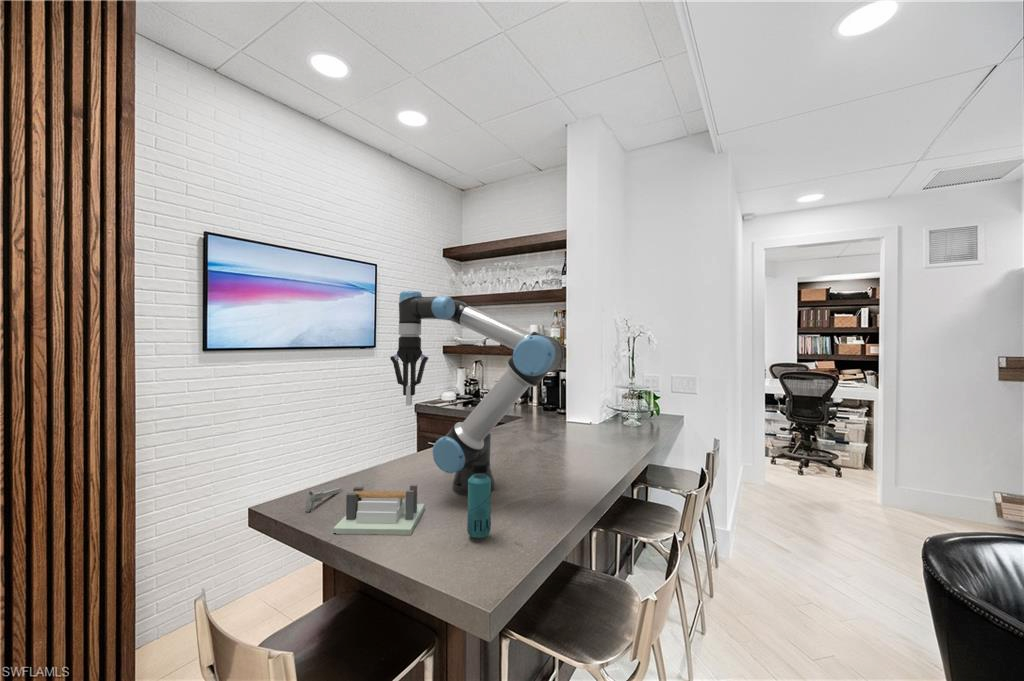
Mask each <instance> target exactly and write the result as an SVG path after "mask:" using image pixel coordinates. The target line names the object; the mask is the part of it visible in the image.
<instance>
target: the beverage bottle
mask: <svg viewBox="0 0 1024 681" xmlns="http://www.w3.org/2000/svg"><path fill="white" fill-rule="evenodd" d="M472 472H474V473H485V472H487V464H486V463H485V462H475V463H473V465H472ZM491 503H492V492H491V479H490V478H489V477H488V476H487V475H486V474H474V475H472V476H471V477H470V478H469V479H468V495H467V509H466V510H467V522H466V523H467V525H466V526H467V529H466V531H467V534H468V536H469V537H473V538H485V537H487V536H489V535H490V534H491V526H492V523H491V522H492V515H491V514H492V507H491V506H492V505H491Z"/></svg>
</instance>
